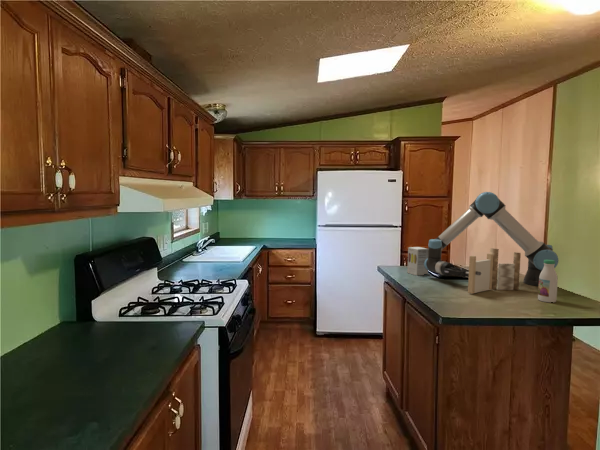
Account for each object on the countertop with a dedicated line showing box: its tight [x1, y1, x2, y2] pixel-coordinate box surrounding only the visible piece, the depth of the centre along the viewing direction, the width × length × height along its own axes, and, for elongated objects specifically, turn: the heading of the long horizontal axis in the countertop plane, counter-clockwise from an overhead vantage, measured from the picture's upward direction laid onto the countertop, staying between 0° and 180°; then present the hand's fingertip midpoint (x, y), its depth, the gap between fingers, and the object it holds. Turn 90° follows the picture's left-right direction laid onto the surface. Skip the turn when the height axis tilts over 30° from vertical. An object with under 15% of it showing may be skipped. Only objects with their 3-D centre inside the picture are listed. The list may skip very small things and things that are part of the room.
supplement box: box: [406, 246, 429, 276], centre depth 256 cm, size 10×9×17 cm
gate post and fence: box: [489, 248, 521, 291], centre depth 216 cm, size 16×4×22 cm, turn 91°
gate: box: [467, 253, 493, 294], centre depth 209 cm, size 18×4×19 cm, turn 125°
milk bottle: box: [537, 260, 559, 303], centre depth 194 cm, size 8×8×20 cm
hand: (475, 276), depth 210 cm, fingers closed
